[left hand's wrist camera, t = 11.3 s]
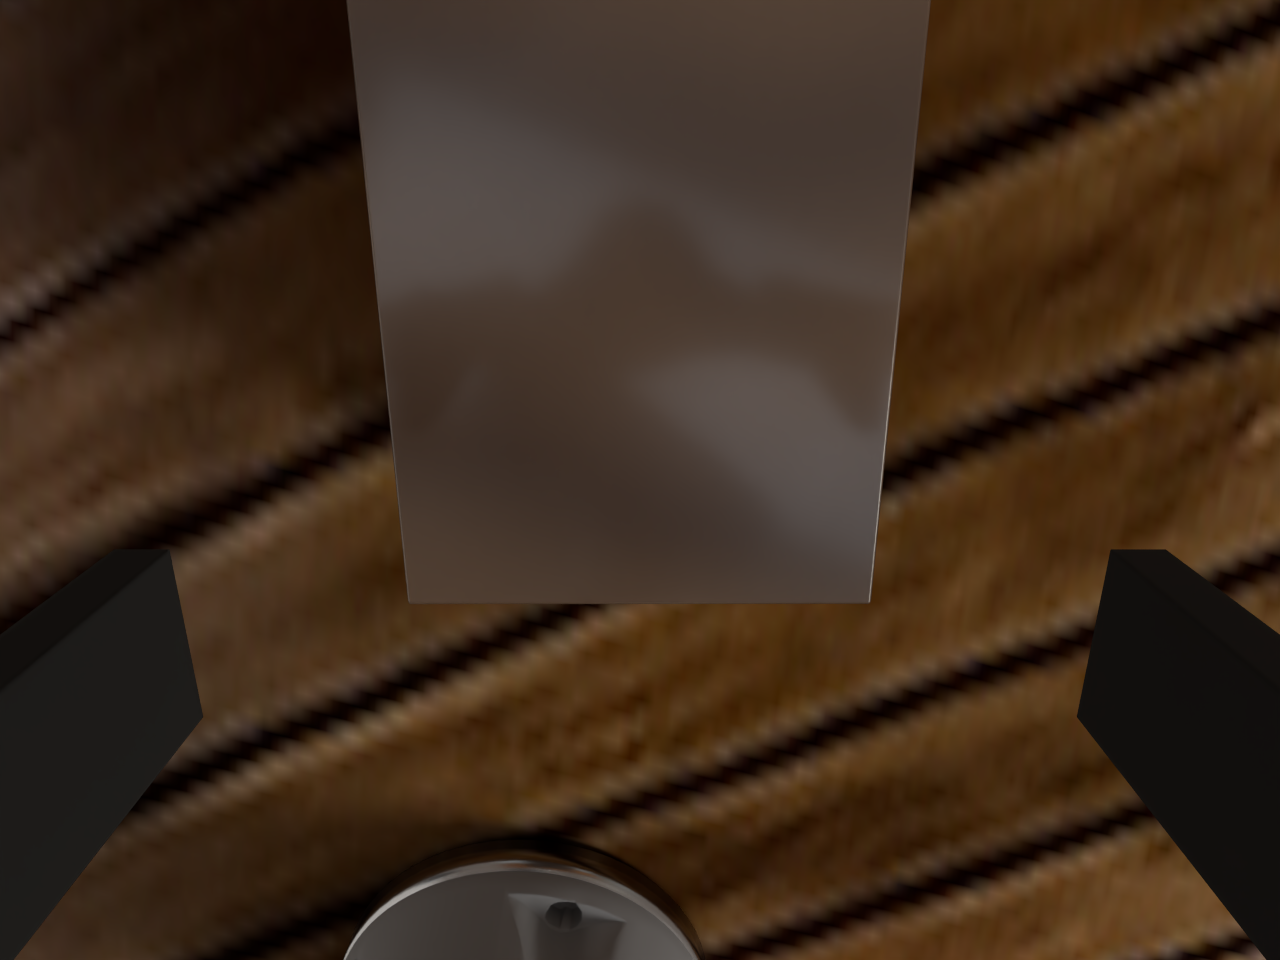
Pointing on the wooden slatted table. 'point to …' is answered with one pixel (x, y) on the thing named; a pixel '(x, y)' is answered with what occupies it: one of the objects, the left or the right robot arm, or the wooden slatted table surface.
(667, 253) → the cabinet
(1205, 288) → the wooden slatted table surface
